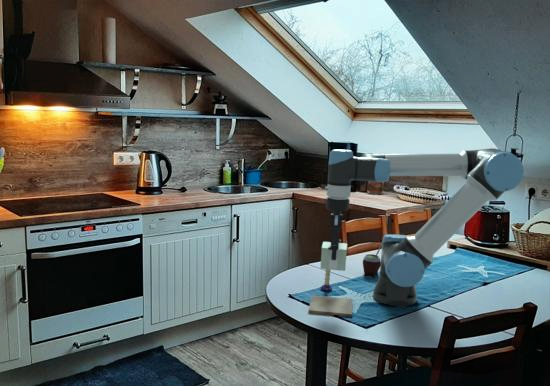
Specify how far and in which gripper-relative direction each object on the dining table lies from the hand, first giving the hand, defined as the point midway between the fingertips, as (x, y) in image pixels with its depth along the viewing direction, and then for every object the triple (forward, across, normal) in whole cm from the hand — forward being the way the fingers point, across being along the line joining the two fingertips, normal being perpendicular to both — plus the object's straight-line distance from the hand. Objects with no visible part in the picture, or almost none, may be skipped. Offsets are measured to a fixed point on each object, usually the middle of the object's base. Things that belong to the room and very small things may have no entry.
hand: (333, 264), depth 180 cm
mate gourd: (+15, -39, +15) cm, 44 cm away
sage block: (0, 0, 0) cm, 0 cm away
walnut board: (+15, 0, 0) cm, 15 cm away
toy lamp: (+15, -17, -2) cm, 23 cm away
